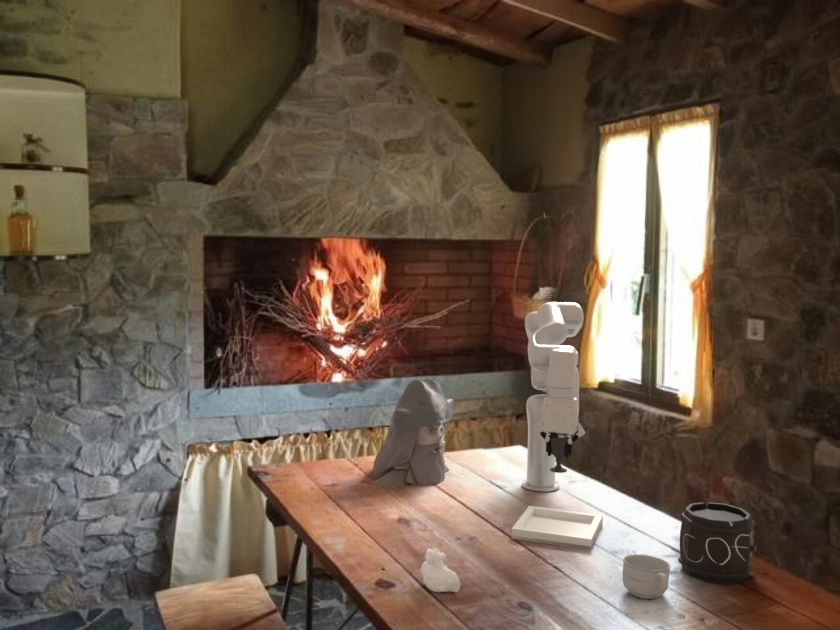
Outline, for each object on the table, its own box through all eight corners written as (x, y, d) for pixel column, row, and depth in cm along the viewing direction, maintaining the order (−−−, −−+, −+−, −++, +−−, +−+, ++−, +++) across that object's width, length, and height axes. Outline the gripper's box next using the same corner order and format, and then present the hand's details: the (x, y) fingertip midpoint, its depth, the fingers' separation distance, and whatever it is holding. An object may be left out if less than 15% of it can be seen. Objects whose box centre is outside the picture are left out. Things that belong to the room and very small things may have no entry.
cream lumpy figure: (420, 590, 203) (399, 561, 198) (438, 565, 207) (418, 537, 201) (455, 606, 194) (434, 577, 189) (473, 580, 198) (453, 551, 193)
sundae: (569, 467, 242) (570, 416, 240) (570, 474, 235) (572, 421, 234) (546, 466, 242) (547, 415, 241) (547, 473, 236) (548, 420, 234)
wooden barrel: (746, 592, 200) (750, 528, 198) (671, 575, 209) (673, 514, 208) (760, 568, 215) (763, 509, 214) (689, 554, 224) (692, 496, 223)
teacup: (615, 585, 203) (617, 553, 202) (659, 584, 204) (660, 552, 203) (635, 610, 189) (636, 575, 189) (681, 609, 190) (683, 575, 189)
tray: (529, 515, 254) (529, 505, 254) (602, 524, 246) (602, 514, 246) (511, 538, 233) (511, 528, 233) (591, 550, 226) (591, 539, 226)
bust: (419, 497, 270) (420, 390, 267) (346, 476, 292) (347, 377, 289) (482, 476, 296) (484, 378, 293) (410, 458, 318) (412, 367, 315)
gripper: (528, 392, 236) (526, 455, 238) (588, 397, 230) (586, 462, 232) (534, 388, 243) (532, 449, 245) (593, 392, 237) (590, 456, 239)
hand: (558, 455), depth 238 cm, fingers closed on sundae, 4 cm apart
